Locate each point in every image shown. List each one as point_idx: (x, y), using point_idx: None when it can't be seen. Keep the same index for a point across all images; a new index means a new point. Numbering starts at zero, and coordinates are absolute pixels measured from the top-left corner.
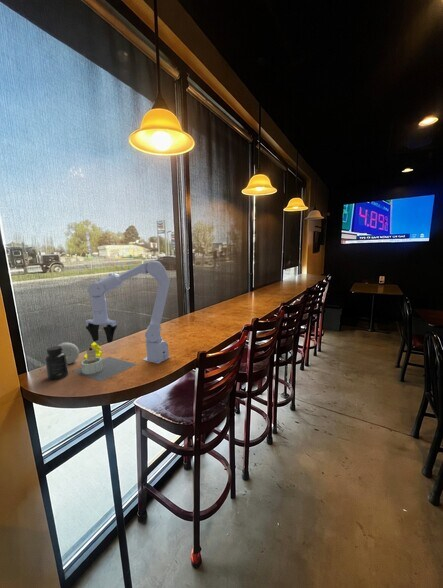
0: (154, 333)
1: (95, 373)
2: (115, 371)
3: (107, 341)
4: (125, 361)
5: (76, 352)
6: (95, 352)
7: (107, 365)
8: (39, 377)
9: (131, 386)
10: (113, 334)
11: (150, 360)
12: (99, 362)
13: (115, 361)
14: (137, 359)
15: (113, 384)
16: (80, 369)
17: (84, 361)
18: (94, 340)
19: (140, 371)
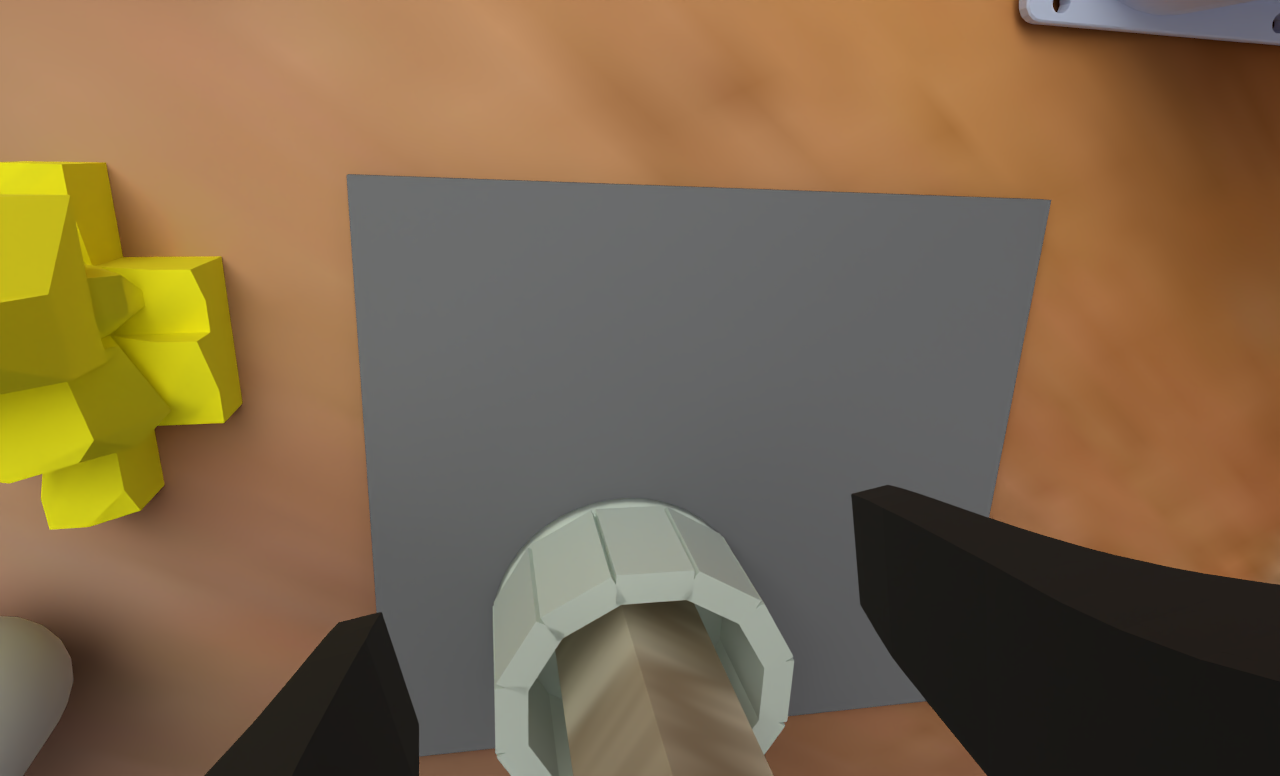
0: None
1: None
2: (926, 491)
3: (883, 635)
4: (811, 203)
5: (27, 748)
6: (105, 354)
7: (673, 432)
8: None
9: (1263, 582)
10: (1061, 551)
11: (1182, 15)
12: (789, 656)
13: (660, 279)
14: (904, 20)
15: None
16: (435, 683)
17: (545, 761)
18: (414, 752)
19: (1182, 322)
